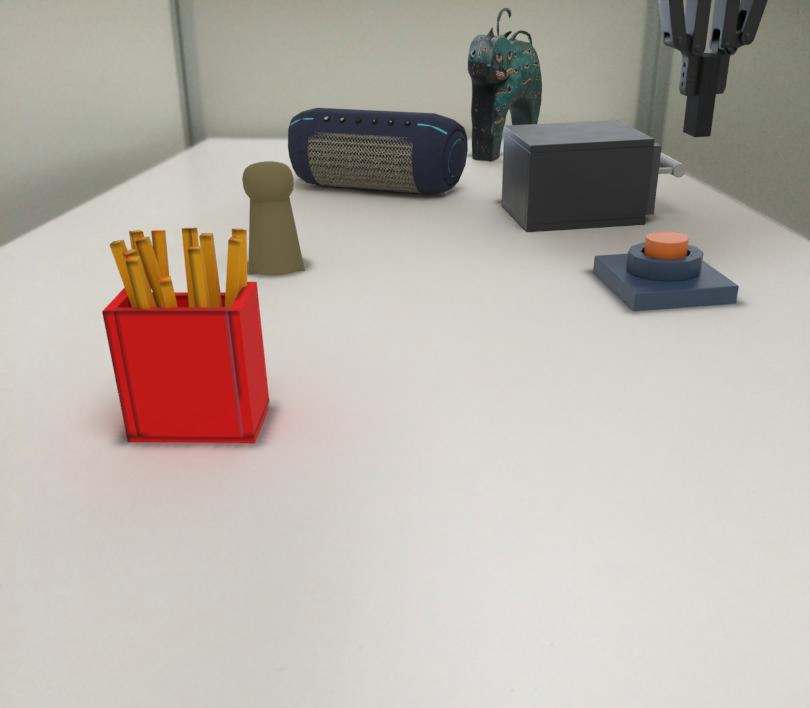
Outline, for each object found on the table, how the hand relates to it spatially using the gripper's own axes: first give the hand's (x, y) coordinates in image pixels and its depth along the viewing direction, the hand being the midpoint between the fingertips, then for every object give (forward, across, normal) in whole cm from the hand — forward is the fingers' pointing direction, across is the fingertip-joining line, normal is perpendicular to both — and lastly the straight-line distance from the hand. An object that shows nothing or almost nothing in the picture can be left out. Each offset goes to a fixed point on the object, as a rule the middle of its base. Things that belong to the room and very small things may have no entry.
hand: (696, 133), depth 88 cm
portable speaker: (+14, +24, -48) cm, 56 cm away
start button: (+11, +2, +1) cm, 11 cm away
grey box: (+14, +2, -29) cm, 33 cm away
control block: (+14, +2, +1) cm, 14 cm away
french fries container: (+14, +46, +22) cm, 53 cm away
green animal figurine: (+14, +1, -69) cm, 71 cm away
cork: (+14, +39, -14) cm, 44 cm away
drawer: (+13, -2, -29) cm, 32 cm away
